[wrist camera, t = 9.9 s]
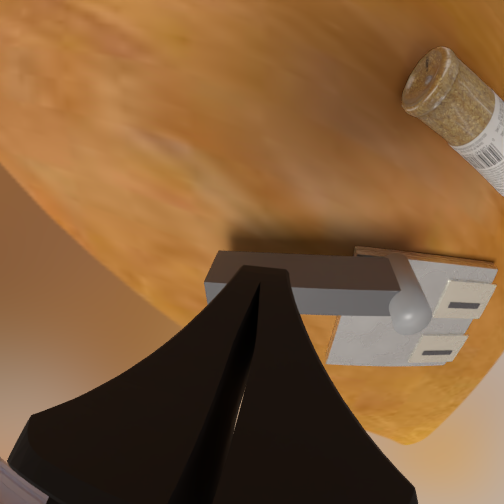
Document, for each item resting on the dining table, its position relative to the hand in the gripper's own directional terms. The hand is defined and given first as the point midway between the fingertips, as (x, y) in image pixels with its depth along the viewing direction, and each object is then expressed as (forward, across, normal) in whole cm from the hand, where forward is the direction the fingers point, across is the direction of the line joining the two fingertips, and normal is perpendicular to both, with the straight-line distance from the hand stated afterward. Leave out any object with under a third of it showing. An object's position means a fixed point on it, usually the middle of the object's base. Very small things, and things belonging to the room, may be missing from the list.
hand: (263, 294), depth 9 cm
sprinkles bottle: (+8, -6, -8) cm, 13 cm away
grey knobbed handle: (+9, -3, +4) cm, 10 cm away
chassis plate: (+10, -11, +9) cm, 17 cm away
